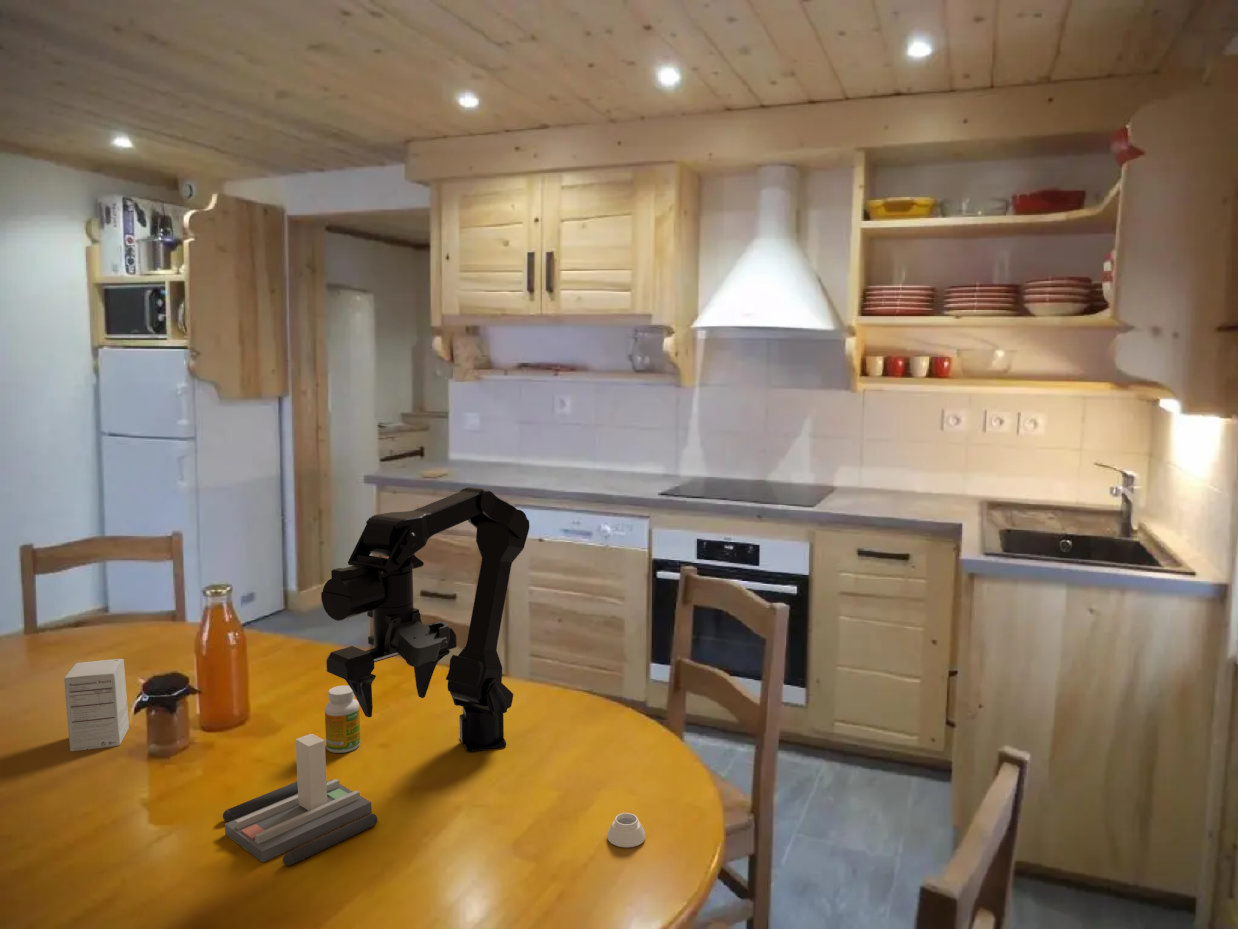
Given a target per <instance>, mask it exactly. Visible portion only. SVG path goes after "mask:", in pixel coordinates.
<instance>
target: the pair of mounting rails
mask: <svg viewBox="0 0 1238 929" xmlns="http://www.w3.org/2000/svg"><path fill="white" fill-rule="evenodd" d="M296 794H298V783H297V781H295V782H292V783H290V784H287V785H285V786H282V787H280V788H277V789H275V790H272V791H270V792H267V793H264V794H262V795H260V796H258V797H255V798H252V799H249V800H247V801H245V802H242V803H240V804H237V805H235V806H233V807H229V808H228V809H225V810H224V811H223V813H222V819H223V820H224V821H226V822H230V821H233V820H235V819H238V818H240V817H243V816H245V815H247V814H250V813H252V812H255V811H257V810H259V809H262V808H264V807H267V806H269V805H272V804H274V803H276V802H279V801H281V800H284V799H286V798H288V797H291V796H293V795H296ZM378 820H379V818H378V815H376V814H375V813H369V814H367V815H364V816H362V817H360V818H358V819H356V820H354V821H351V822H349V823H347V824H345V825H343V826H341V827H338V828H336V829H334V830H332V831H330V832H328V833H326V834H323V835H321V836H319V837H317V838H315V839H313V840H310V841H308V842H306V843H304V844H302V845H300V846H298V847H295V848H293V849H291V850H289V851H287V852H285V854H284V855H283V857H282V862H283V864H284V865H285V866H288V867H289V866H292V865H294V864H296V863H298V862H301V861H303V860H306V859H308V858H309V857H311V856H313V855H315V854H317V853H320V852H322V851H324V850H326V849H328V848H330V847H332V846H334V845H337V844H339V843H340V842H342V841H344V840H347V839H349V838H351V837H353V836H355V835H357V834H359V833H362V832H363V831H365V830H368V829H370V828H371V827H374V826H376V824H378Z"/></svg>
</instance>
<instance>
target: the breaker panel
mask: <svg viewBox="0 0 1238 929" xmlns="http://www.w3.org/2000/svg"><path fill="white" fill-rule="evenodd" d="M326 783H327V803H326V804H324V805H321V806H319V807H317V808H315V809H312V810H310V811H308V810H307V809H305V808H304V807H302V806H300V805H299V804H298V793H297V794H294V795H292V796H290V797H287V798H285V799H282V800H280V801H277V802H275V803H273V804H270V805H268V806H265V807H263V808H261V809H258V810H256V811H253V812H251V813H248V814H246V815H244V816H241V817H239V818H236V819H234V820H231V821H227V822H226V823H224V831H225V832H224V833H225V834H224V835H226V837H228V838H229V839H231V840H232V841H234V842H235V843H236V844H238V845H239V846H240V847H241V848H243V849H244V850H245V851H246V852H248V853H249V854H250V855H252V856H253V857H255V858H256V859H257V860H259V861H260V862H261V863H265V862H268V861H269V860H271V859H273V858H275V857H278V856H279V855H283V854H284V853H285V854H286V853H287V852H289V851H292V850H294V849H296V848H298V847H300V846H302V845H305V844H307V843H309V842H311V841H313V840H315V839H317V838H320V837H322V836H324V835H326V834H328V833H330V832H332V831H335V830H337V829H339V828H341V827H343V826H345V825H348V824H350V823H352V822H354V821H356V820H358V819H360V818H363V817H365V816H367V815H369V814H372V812H373V810H372V808H373V807H372V806H373V805H372V801H371V800H369V799H366V797H364V796H362V795H361V792H360V791H359V790H354V791H353V790H351V789H350V788H347V787H346V786H345V785H342V784H341V783H340V780H339V779H337V778H335V779H330V780H326Z"/></svg>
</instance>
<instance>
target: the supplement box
mask: <svg viewBox="0 0 1238 929" xmlns="http://www.w3.org/2000/svg"><path fill="white" fill-rule="evenodd" d="M63 682H64V683H63V684H64V693H65V694H64V695H65V705H66V706H65V707H66V708H65V709H66V717H67V720H66V721H67V729H68V739H69V741H68V742H69V751H70V752H77V751H87V749H88V751H89V750H94V749H95V750H96V749H103V748H113V747H118V746H121V743H122V741H123V740H124V738H125V736H126V734H127V732H128V730H129V728H130V723H129V712H128V711H129V710H128V699H127V683H126V672H125V659H124V658H113V659H103V660H95V661H94V660H93V661H83V662H76V663H75V664H74V665H73V667H72V668H71V669H70V670H69V672H68V673H67V674H66V675H65V676H64V678H63Z"/></svg>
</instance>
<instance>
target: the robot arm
mask: <svg viewBox="0 0 1238 929" xmlns="http://www.w3.org/2000/svg"><path fill="white" fill-rule="evenodd" d="M466 521H468V523H470V525H472V526H473V527H474V528H475V529H476V536H475V537H476V538H475V543H476V545H477V548H478V552H479V554H480V556H481V562H480V568H479V573H478V579H477V583H476V584H477V585H476V589H475V595H474V601H473V605H472V611H471V612H472V613H471V617H470V623H469V628H468V634H467V639H466V644H465V646H464V648H463V649H462V650H461V651H460V652H459V654H457V655H455V654H453V655H451V657H450V659H449V667H448V669H449V670H448V671H447V672H448V673H447V674H446V677H445V680H446V681H447V691H448V692H449V694H450V696H451V698H452V701H453V704H454V706H458V707H462V713H461V714H459V716H458V718H459V739H460V741H461V744H462V745H464V748H465V750H466V752H469V753H470V752H471V753H472V752H477V751H478V752H479V751H482V750H490V749H496V748H503V747H506V746H507V741H506V739H505V737H504V736H505V735H504V734H505V732H504V731H505V729H504V727H505V726H504V725H505V724H504V714H506V713H508V709H509V708H511V707H512V704H513V701H514V700H513V699H514V693H513V692H512V691H511V689H509V688H508V687H507V686H506V685H505V684H504V683H503V681H502V680H503V679H502V678H503V666H502V663H501V660H500V657H499V654H498V652H497V651H498V650H497V649H498V642H499V636H500V632H501V625H502V619H503V615H504V608H505V604H506V597H507V592H508V585H509V581H510V575H511V569H512V564H513V563H514V562H515V560H516V558H518V556H519V555H520V554H521V552H522V551H523V550H524V549H525V544H526V542H527V539H528V536H529V532H530V520H529V519H528V517H527V515H526V513H525V512H524V511H523V510H521V509H517V508H516V506H513V505H512V504H510V503H508V502H507V501H504V500H503V499H501V498H499V497H498V496H496V494H495V493H494V492H493V491H490V490H489V489H487V488H482V487H481V488H479V487H464V488H462V489H461V490H460V491H458V492H456V493H454V494H451V495H448V496H446V497H444V498H441V499H438V500H437V501H436V500H435V501H433V502H430V503H428V504H426V505H423V506H421V507H418V508H417V509H416V508H415V509H413V510H407V511H393V512H391V511H390V512H386V513H379V514H378V513H377V514H373V515H372V516H370V517H369V518H368V519H367V520H366V521H365V523H366V524H365V526H364V529H363V530H362V532H361V534H360V537H359V538H358V541H357V543H356V545H355V547H354V549H353V551H352V553H351V555H350V557H349V559H348V561H347V564H348V566H347V567H338V568H334V569H332V570H331V572H330V573H331V578H330V579H328V580H327V581H326V582H325V584H324V586H323V589H322V591H321V594H320V596H321V604H322V607H323V609H324V611H325V613H326V614H327V615H328V616H329V617H330V618H331V619H332V620H334V621H338V622H339V621H344V620H347V619H350V618H354V617H356V616H360V615H362V614H365V613H367V617H369V618H372V635H370V636H368V637H367V641H368V643H367V644H369V645H372V647H373V648H370V649H367V650H364V649H361V648H358V647H355V646H354V645H352V646H348V647H344V648H339V649H337V650H333V651H331V652H330V653H329V654H328V656H327V658H326V672H327V673H328V674H331V675H334V676H335V677H338V678H341V679H342V680H343V679H344V681H345V682H346V683H347V686H350V688H351V689H352V691H353V693H354V698H355V700H357V701H358V703H359V707H360V709H361V710H362V712H363V713H364V716H365V717H366V718H369V719H371V718H372V717H373V706H374V705H373V692H372V691H373V687H372V683H373V682H374V680H375V679H376V677H377V675H376V674H372V672H373V671H374V669H375V663H377V662H380V661H384V660H387V659H390V658H394V657H397V656H400V657H401V658H402V659H403V660H404V661H405V662H406V664H407V665H408V666H410V667H413V670H414V678H415V679H414V680H415V687H416V691H417V696H418V697H419V698H421V699H424V698H425V697H426V696H427V691H428V689H429V686H430V683H431V680H432V676H433V674H434V672H435V669H436V667H437V665H438V663H439V661H441V660H442V659H443V658H444V657H446V656H448V655H450V653H451V650H452V649H456V648H457V634H456V632H455V631H454V629H453V628H451V627H450V625H449V624H448V623H446V621H444V620H442V621H439V622H433V623H428V624H423V622H422V619H421V612H420V609H419V608H415V607H414V576H413V572H414V571H413V570H414V569H415V570H416V569H419V568H421V567H424V565H425V562H424V561H422V560H421V559H420V558H419V557H417V556H416V553H418V552H419V551H421V550H422V549H423V548H425V547H426V544H427V543H428V540H429V539H431V537H433V536H436V535H438V534H440V533H442V532H444V531H447V530H449V529H452V528H453V527H455V526H458V525H460V524H462V523H464V522H466ZM371 554H372V555H371ZM374 555H378V556H374ZM381 556H384V557H381ZM386 557H388V558H386Z"/></svg>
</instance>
